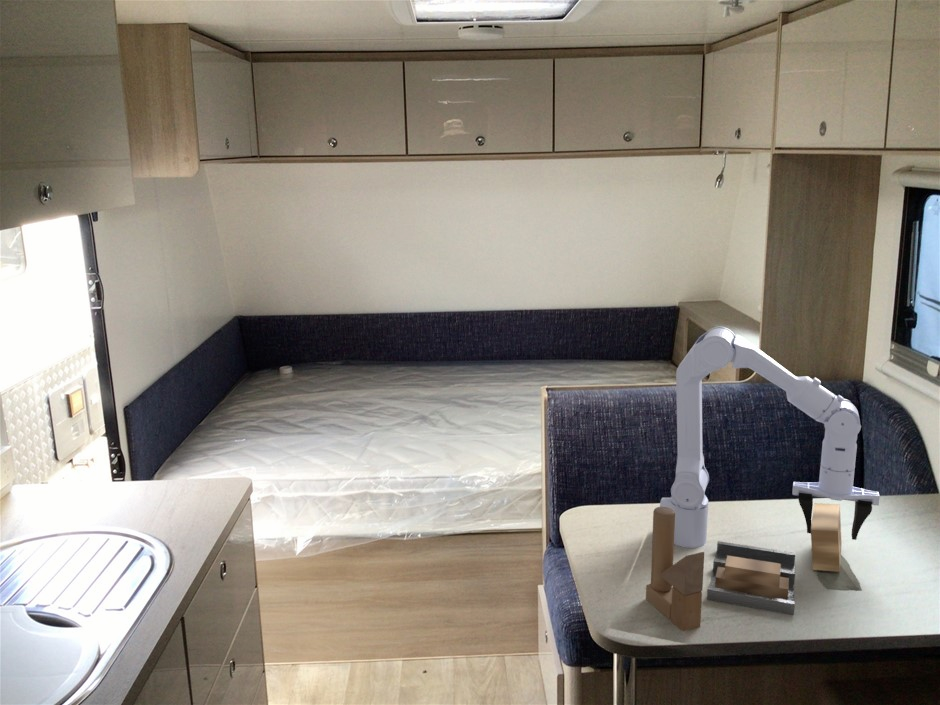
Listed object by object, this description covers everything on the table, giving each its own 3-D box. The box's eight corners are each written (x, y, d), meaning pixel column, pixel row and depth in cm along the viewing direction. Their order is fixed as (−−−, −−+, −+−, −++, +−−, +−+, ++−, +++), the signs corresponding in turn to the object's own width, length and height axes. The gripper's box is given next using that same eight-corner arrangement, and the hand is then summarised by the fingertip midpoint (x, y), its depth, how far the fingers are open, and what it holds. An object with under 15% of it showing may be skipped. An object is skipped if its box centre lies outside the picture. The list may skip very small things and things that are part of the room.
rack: (706, 603, 138) (707, 589, 137) (717, 554, 155) (717, 541, 154) (793, 619, 132) (794, 604, 132) (794, 566, 149) (795, 552, 149)
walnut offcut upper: (724, 578, 139) (725, 565, 139) (726, 568, 143) (727, 555, 142) (779, 587, 136) (780, 574, 135) (779, 576, 140) (780, 563, 139)
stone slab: (817, 604, 140) (876, 599, 139) (816, 590, 140) (875, 585, 138) (781, 546, 162) (832, 541, 161) (780, 533, 161) (831, 529, 160)
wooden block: (682, 635, 129) (687, 534, 124) (644, 603, 138) (648, 507, 134) (701, 630, 130) (706, 529, 126) (662, 598, 140) (666, 504, 135)
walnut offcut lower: (714, 589, 140) (715, 577, 140) (717, 579, 144) (717, 566, 143) (787, 602, 136) (788, 589, 135) (787, 590, 140) (788, 578, 139)
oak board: (816, 540, 156) (814, 503, 155) (841, 542, 154) (839, 504, 153) (812, 569, 146) (810, 529, 144) (839, 571, 144) (837, 531, 142)
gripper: (794, 469, 144) (789, 537, 148) (883, 479, 139) (876, 549, 142) (795, 455, 151) (789, 521, 154) (880, 465, 145) (872, 533, 149)
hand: (831, 534), depth 148 cm, fingers open, 7 cm apart
